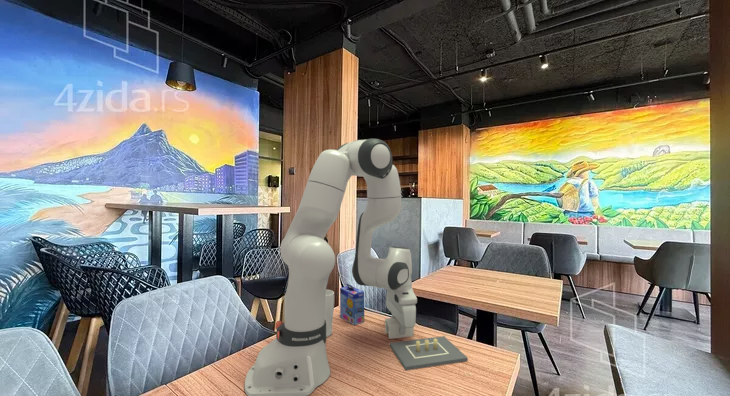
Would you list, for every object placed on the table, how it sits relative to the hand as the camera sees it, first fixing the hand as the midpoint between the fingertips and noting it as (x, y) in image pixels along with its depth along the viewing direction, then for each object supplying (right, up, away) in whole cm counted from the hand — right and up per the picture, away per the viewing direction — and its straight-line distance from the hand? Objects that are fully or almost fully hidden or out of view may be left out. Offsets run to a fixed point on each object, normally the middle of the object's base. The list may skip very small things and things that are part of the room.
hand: (399, 329), depth 105 cm
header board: (+7, -2, -13) cm, 15 cm away
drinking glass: (-27, -2, -1) cm, 27 cm away
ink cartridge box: (-17, -2, +12) cm, 21 cm away
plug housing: (0, -2, 0) cm, 2 cm away
